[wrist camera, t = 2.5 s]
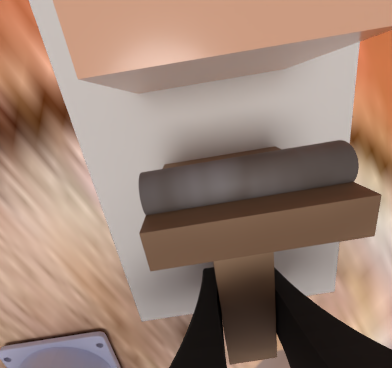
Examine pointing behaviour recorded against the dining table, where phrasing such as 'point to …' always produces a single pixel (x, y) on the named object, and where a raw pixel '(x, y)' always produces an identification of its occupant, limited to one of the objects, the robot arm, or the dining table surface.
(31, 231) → the dining table surface
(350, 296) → the dining table surface
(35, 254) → the dining table surface
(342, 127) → the mat
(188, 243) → the pusher
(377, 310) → the dining table surface
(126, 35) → the tile
